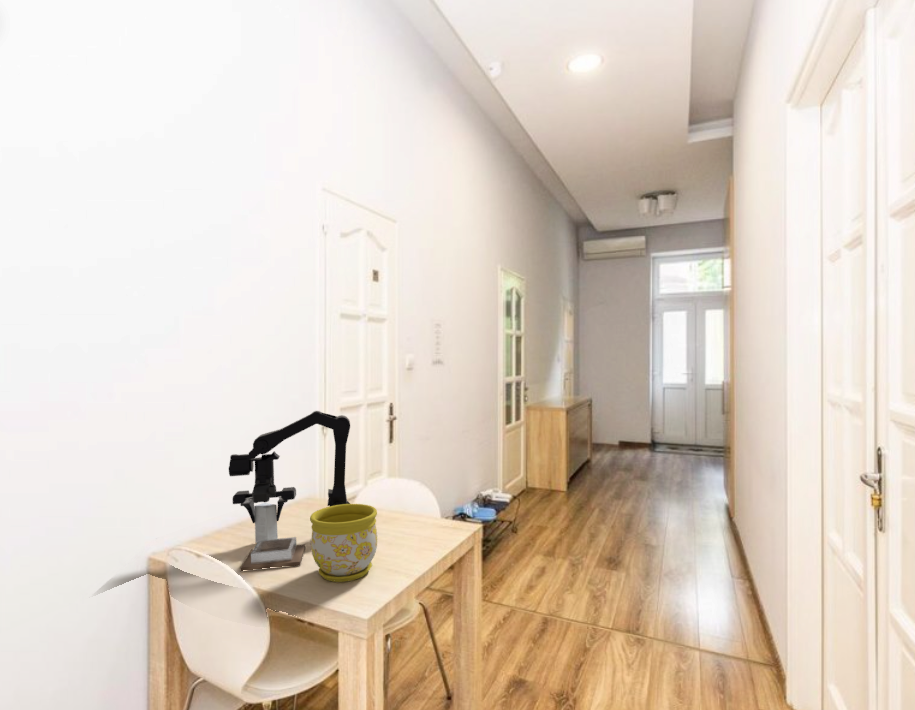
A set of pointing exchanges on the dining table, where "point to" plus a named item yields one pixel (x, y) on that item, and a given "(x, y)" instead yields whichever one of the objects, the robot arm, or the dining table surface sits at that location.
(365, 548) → the flowerpot
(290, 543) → the light gray square frame
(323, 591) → the dining table surface
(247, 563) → the square wooden tray
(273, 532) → the skincare box
